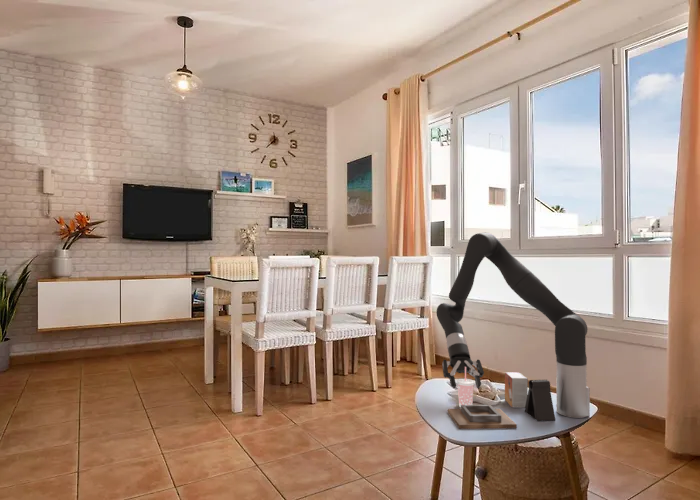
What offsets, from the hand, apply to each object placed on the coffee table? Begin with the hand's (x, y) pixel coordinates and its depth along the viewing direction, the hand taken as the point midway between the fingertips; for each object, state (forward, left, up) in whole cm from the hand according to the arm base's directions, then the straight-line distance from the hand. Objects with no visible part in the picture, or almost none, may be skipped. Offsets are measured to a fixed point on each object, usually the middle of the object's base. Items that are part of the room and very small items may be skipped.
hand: (466, 387), depth 154 cm
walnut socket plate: (-1, +12, -7) cm, 14 cm away
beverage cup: (0, -1, -7) cm, 8 cm away
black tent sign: (-22, +9, -7) cm, 25 cm away
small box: (-19, -3, -7) cm, 21 cm away
